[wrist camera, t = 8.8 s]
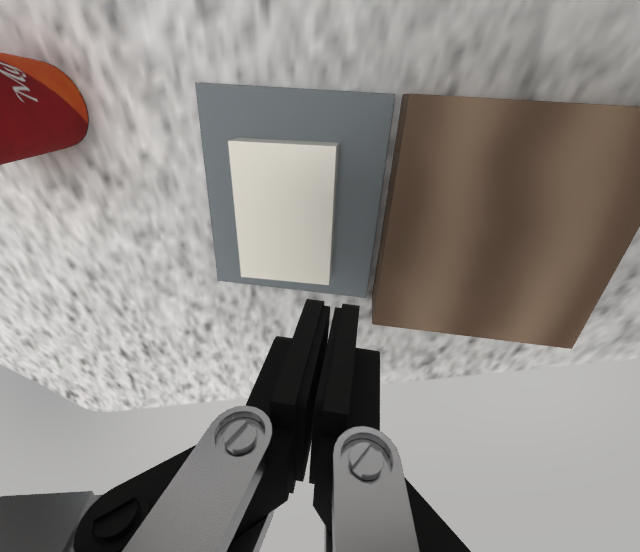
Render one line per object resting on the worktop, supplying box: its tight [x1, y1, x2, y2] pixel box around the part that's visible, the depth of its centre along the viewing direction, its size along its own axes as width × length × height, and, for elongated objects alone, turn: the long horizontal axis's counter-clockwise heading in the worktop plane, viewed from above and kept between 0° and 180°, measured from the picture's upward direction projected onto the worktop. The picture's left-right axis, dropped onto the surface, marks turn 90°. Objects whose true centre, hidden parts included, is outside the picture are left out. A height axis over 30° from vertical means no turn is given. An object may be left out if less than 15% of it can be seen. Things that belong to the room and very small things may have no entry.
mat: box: [195, 83, 395, 298], centre depth 25 cm, size 13×15×1 cm
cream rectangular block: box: [228, 138, 339, 285], centre depth 24 cm, size 7×10×2 cm
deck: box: [372, 94, 640, 349], centre depth 22 cm, size 14×15×4 cm
